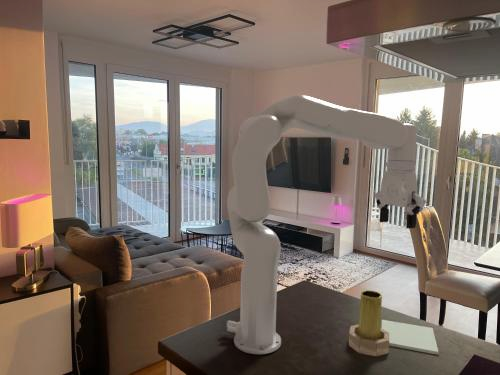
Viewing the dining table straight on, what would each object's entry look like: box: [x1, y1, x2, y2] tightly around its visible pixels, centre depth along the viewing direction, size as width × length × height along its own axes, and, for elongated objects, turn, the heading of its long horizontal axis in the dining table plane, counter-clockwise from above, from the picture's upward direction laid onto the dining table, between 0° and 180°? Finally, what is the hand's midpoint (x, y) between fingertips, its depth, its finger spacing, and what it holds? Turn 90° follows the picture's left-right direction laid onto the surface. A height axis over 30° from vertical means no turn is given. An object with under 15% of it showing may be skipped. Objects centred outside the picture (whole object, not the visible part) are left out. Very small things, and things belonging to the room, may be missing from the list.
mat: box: [381, 319, 440, 356], centre depth 105 cm, size 14×14×1 cm
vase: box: [358, 290, 383, 341], centre depth 99 cm, size 6×6×14 cm
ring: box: [348, 323, 390, 357], centre depth 100 cm, size 10×10×4 cm
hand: (396, 224), depth 110 cm, fingers open, 9 cm apart
